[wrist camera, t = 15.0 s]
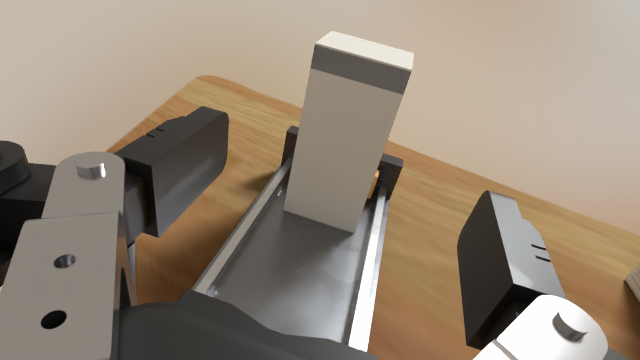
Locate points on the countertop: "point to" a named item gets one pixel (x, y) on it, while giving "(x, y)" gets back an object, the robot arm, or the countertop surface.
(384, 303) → the countertop surface
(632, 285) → the skincare box
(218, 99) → the countertop surface
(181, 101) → the countertop surface
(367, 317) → the dark grey open tray
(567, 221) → the countertop surface
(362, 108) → the block
